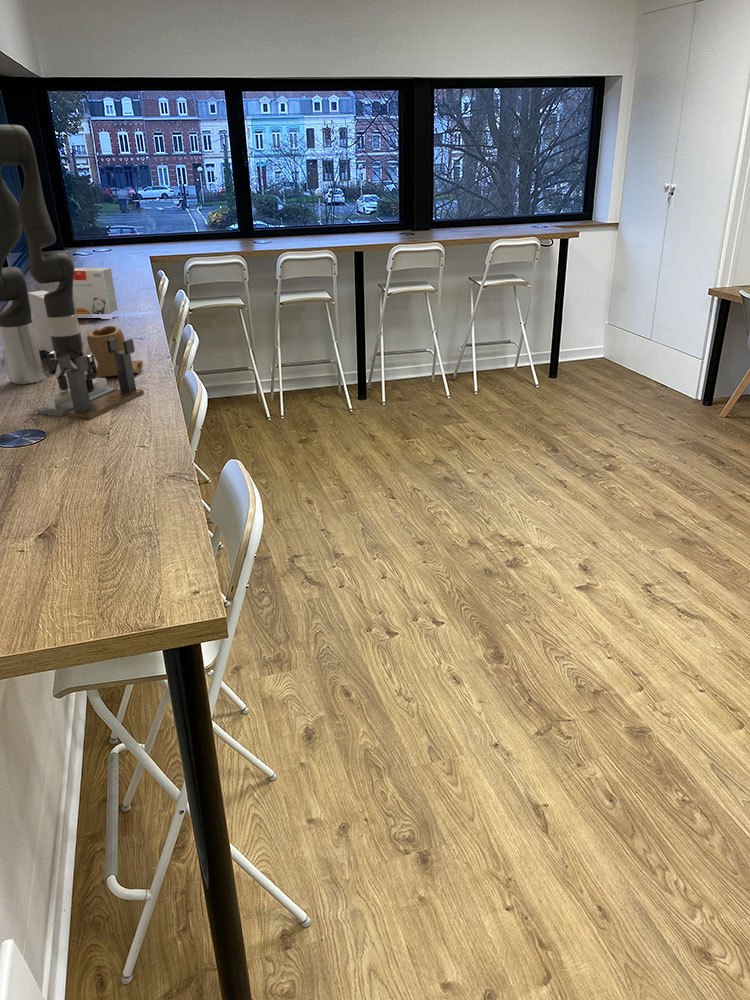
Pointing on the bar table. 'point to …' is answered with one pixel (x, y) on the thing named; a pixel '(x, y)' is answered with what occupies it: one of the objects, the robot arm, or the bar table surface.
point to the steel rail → (65, 396)
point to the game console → (42, 319)
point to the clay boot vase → (102, 355)
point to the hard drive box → (94, 291)
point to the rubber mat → (70, 407)
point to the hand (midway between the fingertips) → (76, 390)
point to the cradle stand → (105, 403)
